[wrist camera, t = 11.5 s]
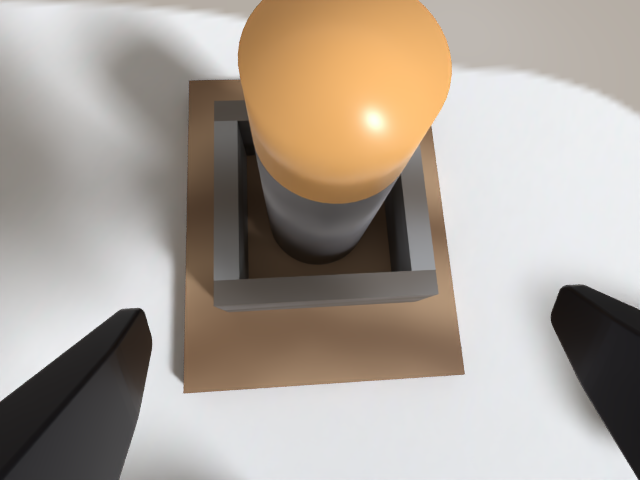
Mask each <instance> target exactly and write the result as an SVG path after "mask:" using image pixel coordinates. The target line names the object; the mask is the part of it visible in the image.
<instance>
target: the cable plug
mask: <svg viewBox="0 0 640 480" xmlns="http://www.w3.org/2000/svg"><path fill="white" fill-rule="evenodd" d="M238 67H239V73H240V79H241V84H242V89H243V93H244V98H245V103H246V108H247V113H248V118H249V123H250V128H251V133H252V138H253V143H254V148H255V153H256V158H257V163H258V168H259V173H260V178H261V183H262V188H263V193H264V198H265V202H266V207H267V212H268V217H269V222H270V227H271V231H272V234H273V236H274V239H275V241H276V242H277V244H278V245H279V246H280V248H281V249H282V250H283V251H284V252H285V253H287V254H288V255H289V256H291V257H292V258H294V259H296V260H298V261H301V262H303V263H307V264H315V265H321V264H328V263H332V262H335V261H337V260H340V259H342V258H343V257H345V256H346V255H347V254H349V253H350V252H351V251H352V250H353V249H354V248H355V246H356V245H357V243H358V242H359V240H360V239H361V237H362V236H363V234H364V232H365V231H366V229H367V227H368V226H369V224H370V223H371V221H372V219H373V218H374V216H375V215H376V213H377V211H378V210H379V208H380V207H381V205H382V203H383V202H384V200H385V199H386V197H387V195H388V194H389V192H390V191H391V189H392V187H393V186H394V184H395V182H396V181H397V179H398V178H399V176H400V174H401V173H402V171H403V170H404V168H405V166H406V165H407V163H408V162H409V160H410V158H411V157H412V155H413V154H414V152H415V150H416V149H417V147H418V145H419V144H420V142H421V141H422V139H423V137H424V136H425V134H426V133H427V131H428V129H429V128H430V126H431V125H432V123H433V121H434V120H435V118H436V117H437V115H438V113H439V112H440V110H441V108H442V106H443V104H444V102H445V100H446V98H447V95H448V91H449V88H450V83H451V75H452V62H451V56H450V50H449V47H448V44H447V41H446V38H445V36H444V34H443V32H442V29H441V27H440V26H439V24H438V23H437V21H436V20H435V18H434V17H433V15H432V14H431V13H430V12H429V11H428V9H427V8H426V7H425V6H424V5H422V4H421V3H420V2H419V1H418V0H262V1H261V2H260V4H259V5H258V6H257V7H256V8H255V9H254V11H253V12H252V14H251V15H250V17H249V18H248V20H247V22H246V24H245V27H244V29H243V32H242V35H241V38H240V42H239V49H238Z"/></svg>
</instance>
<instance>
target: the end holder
mask: <svg viewBox="0 0 640 480" xmlns="http://www.w3.org/2000/svg"><path fill="white" fill-rule="evenodd" d="M464 374H465V373H464V365H463V358H462V350H461V343H460V335H459V328H458V321H457V313H456V306H455V298H454V291H453V284H452V276H451V269H450V261H449V254H448V246H447V239H446V232H445V224H444V217H443V209H442V202H441V194H440V187H439V180H438V172H437V165H436V157H435V150H434V143H433V135H432V128H431V126H430V128H429V129H428V131H427V133H426V134H425V136H424V137H423V139H422V141H421V142H420V144H419V145H418V147H417V149H416V150H415V152H414V154H413V155H412V157H411V158H410V160H409V162H408V163H407V165H406V166H405V168H404V170H403V171H402V173H401V174H400V176H399V178H398V179H397V181H396V182H395V184H394V186H393V187H392V189H391V191H390V192H389V194H388V195H387V197H386V199H385V200H384V202H383V203H382V205H381V207H380V208H379V210H378V211H377V213H376V215H375V216H374V218H373V219H372V221H371V223H370V224H369V226H368V227H367V229H366V231H365V232H364V234H363V236H362V237H361V239H360V240H359V242H358V243H357V245H356V246H355V248H354V249H353V250H352V251H351V252H350V253H349V254H347V255H346V256H345V257H343V258H342V259H340V260H337V261H335V262H332V263H328V264H321V265H315V264H307V263H303V262H301V261H298V260H296V259H294V258H292V257H291V256H289V255H288V254H287V253H285V252H284V251H283V250H282V249H281V248H280V246H279V245H278V244H277V242H276V241H275V239H274V236H273V234H272V231H271V227H270V222H269V217H268V212H267V207H266V202H265V198H264V193H263V188H262V183H261V178H260V173H259V168H258V163H257V158H256V153H255V148H254V143H253V138H252V133H251V128H250V123H249V118H248V113H247V108H246V103H245V98H244V93H243V89H242V84H241V80H198V81H189V125H188V178H187V232H186V285H185V339H184V392H183V393H197V392H211V391H226V390H241V389H256V388H271V387H286V386H300V385H315V384H330V383H345V382H360V381H375V380H390V379H404V378H419V377H434V376H449V375H464Z"/></svg>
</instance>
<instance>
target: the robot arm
mask: <svg viewBox="0 0 640 480" xmlns="http://www.w3.org/2000/svg"><path fill="white" fill-rule="evenodd" d="M551 323H552V326H553V328H554V330H555V332H556V334H557V336H558V338H559V340H560V342H561V345H562V347H563V349H564V351H565V353H566V355H567V357H568V359H569V361H570V363H571V365H572V367H573V370H574V372H575V374H576V376H577V378H578V380H579V382H580V384H581V385H582V387H583V389H584V391H585V393H586V394H587V396H588V398H589V399H590V401H591V403H592V404H593V406H594V408H595V409H596V411H597V412H598V414H599V416H600V417H601V419H602V421H603V422H604V424H605V426H606V427H607V429H608V431H609V432H610V434H611V435H612V437H613V439H614V440H615V442H616V444H617V445H618V447H619V449H620V450H621V452H622V454H623V455H624V457H625V459H626V460H627V462H628V463H629V465H630V467H631V468H632V470H633V472H634V473H635V475H636V477H637V478H638V480H640V310H639V309H637V308H634V307H632V306H630V305H628V304H625V303H623V302H621V301H619V300H617V299H614V298H612V297H610V296H608V295H605V294H603V293H601V292H599V291H597V290H594V289H592V288H590V287H588V286H585V285H581V284H578V285H565V286H563V287H562V288H561V289H560V291H559V293H558V296H557V299H556V301H555V304H554V307H553V309H552V312H551ZM151 351H152V337H151V333H150V330H149V326H148V323H147V319H146V316H145V313H144V311H143V310H142V309H140V308H129V309H121V310H119V311H118V312H116V313H115V314H114V315H112V316H111V317H110V318H109V319H107V320H106V321H105V322H103V323H102V324H101V325H99V326H98V327H97V328H96V329H94V330H93V331H92V332H90V333H89V334H88V335H86V336H85V337H84V338H83V339H81V340H80V341H79V342H77V343H76V344H75V345H73V346H72V347H71V348H69V349H68V350H67V351H66V352H64V353H63V354H62V355H60V356H59V357H58V358H56V359H55V360H54V361H53V362H51V363H50V364H49V365H47V366H46V367H45V368H43V369H42V370H41V371H40V372H38V373H37V374H36V375H34V376H33V377H32V378H30V379H29V380H28V381H27V382H25V383H24V384H23V385H21V386H20V387H19V388H17V389H16V390H15V391H13V392H12V393H11V394H10V395H8V396H7V397H6V398H4V399H3V400H2V401H0V480H119V478H120V475H121V471H122V468H123V465H124V462H125V459H126V456H127V453H128V449H129V446H130V443H131V440H132V437H133V434H134V430H135V427H136V424H137V420H138V416H139V412H140V407H141V402H142V397H143V392H144V387H145V382H146V376H147V371H148V366H149V361H150V356H151Z"/></svg>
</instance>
